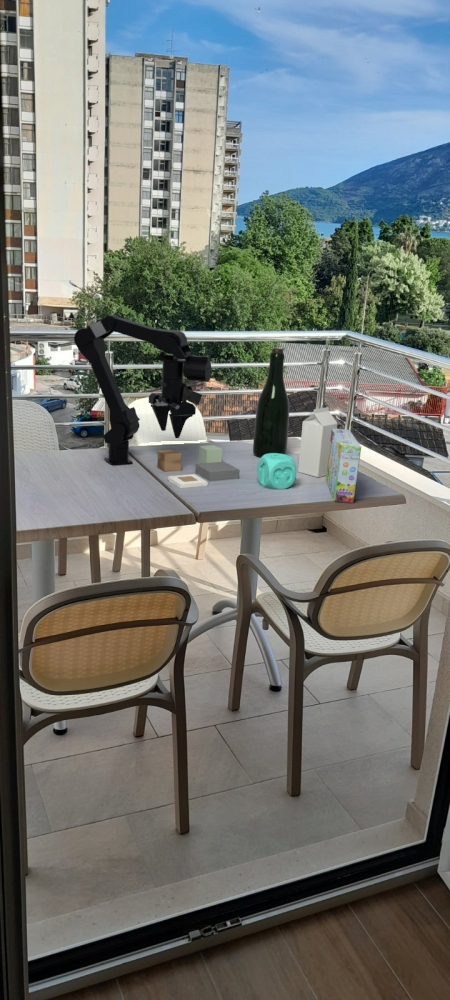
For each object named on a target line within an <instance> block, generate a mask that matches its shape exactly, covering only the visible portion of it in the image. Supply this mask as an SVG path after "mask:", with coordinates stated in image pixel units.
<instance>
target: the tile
mask: <svg viewBox="0 0 450 1000" xmlns="http://www.w3.org/2000/svg"><path fill="white" fill-rule="evenodd" d="M167 481H168V482H170V483H172V484H173V485H174V486H176V487H178V488H179V489H187V488H196V487H197V488H198V487H206V486H209V483H208V480H206V479H205V478H203V477H201V476H200V475H198V474H196V473H192V474H180V475H169V476H167Z"/></svg>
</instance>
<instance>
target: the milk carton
mask: <svg viewBox="0 0 450 1000" xmlns="http://www.w3.org/2000/svg"><path fill="white" fill-rule="evenodd" d="M329 410H330V407H329V406H327V407H322V408H320V407H319V408H314V409H313V412H311V413H310V414H309V416H308V417H306V418H305V419H304V420H303V421H302V428H301V437H300V438H301V439H300V446H299V447H300V449H299V450H300V451H299V461H298V468H297V469H298V471H297V473H300V474H304V475H307V476H311V477H315V478H321V477H326V473H327V465H328V457H329V448H330V440H331V430H332V429H338V421H336V419H335V418H334V417H333V414H331V412H330V411H329Z"/></svg>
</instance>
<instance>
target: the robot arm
mask: <svg viewBox="0 0 450 1000" xmlns="http://www.w3.org/2000/svg"><path fill="white" fill-rule="evenodd" d="M114 332H115V333H118V334H122V335H123V336H128V337H131V338H134V339H136V340H140V341H143V342H147V343H149V344H152V345H153V346H154V347H155V348H156V349H158V350H160V353H159V355H157V356H156V357H155V358H154V359H155V361H159V362H162V371H161V372H162V373H161V380H159V383H158V385H160V386H161V392H151V393H150V394H149V395H148V404H150V407H151V409H152V410H153V413H154V415H155V418H156V420H157V423H158V426H159V428H160V430H161V431H163V432H164V431H165V432H166V430H167V425H168V419H169V420H170V423H171V426H172V431H173V435H174V438H175V439H179V438H180V437H181V434H182V432H183V428H184V426H185V424H186V421H187V420H188V419H189V418H193V416H194V415H196V410H197V409H196V406H195V405H197V406H199V405H200V402H201V399H202V397H203V394H202V393H199V392H196V391H194V390H193V387H192V386H191V385H188V384H186V382H184V378H186V380H187V381H195V382H203V383H209V382H210V381H211V379H212V372H213V368H212V362H211V358H210V357H211V356H209V355H195V353H194V352H193V350H192V349H191V347H190V345H189V343H188V338H187V335H186V334H185V333H184V332H183V331H181V330H176V329H165V328H164V329H163V328H155V327H152V326H149V325H145V324H142V323H139V322H136V321H133V320H129V319H128V318H123V317H120V316H118V315H116V314H115V315H114V314H112V315H111V314H110V315H107V316H105V317H104V318H102V319H101V320H99V321H97V322H95V323H94V324H91V325H90V326H87V327H83V328H79V329H78V330H76V332H75V334H74V336H73V342H74V344H75V346H76V347H77V349H78V351H79V352H80V354H81V355H82V356H83V358H85V359H86V361H88V362H89V364H90V366H91V369H92V372H93V374H94V377H95V379H96V381H97V384H98V387H99V388H100V390H101V393H102V395H103V397H104V400H105V403H106V405H107V408H108V411H109V414H108V415H109V417H108V418H109V419H108V421H109V425H110V429H109V430H108V431H107V432H106V433H105V434H103V435H102V436H103V439H104V443H105V444H108V457H105V458H103V459H104V461H105V460H106V461H105V462H106V463H108V464H109V465H112V466H116V465H117V464H119V465H130V464H133V463H134V462H133V461H132V460H131V459H129V455H130V454H129V453H130V451H129V450H130V446H129V445H130V440H132V439H133V438H134V435H135V434H136V433H138V431H139V428H140V422H139V421H140V420H141V419H140V418H139V416H138V415H137V411H136V408H135V407H134V406H132V407H129V406H128V405H127V403H125V401H124V398H123V396H122V393H121V391H120V389H119V385H118V384H117V382H116V379H115V376H114V374H113V372H112V369H111V367H110V364H109V362H108V360H107V356H106V343H105V339H106V338H109V336H111V335H112V334H113V333H114ZM117 466H118V465H117Z"/></svg>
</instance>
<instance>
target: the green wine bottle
mask: <svg viewBox="0 0 450 1000" xmlns="http://www.w3.org/2000/svg"><path fill="white" fill-rule="evenodd" d="M285 358H286V357H285V353H284V349H283V348H280V347H279V348H278V347H275V348H274V347H273V348H272V349H271V352H270V354H269V367H268V373H267V378H266V381H265V383H264V386H263V389H262V390H261V393H260V395H259V397H258V401H257V405H256V413H255V421H254V432H253V445H252V453H253V455H254V456H256V457H259V458H261V457H262V456H263V455H265V454H269V453H279V454H285V455H287V451H288V450H287V449H288V435H289V425H290V424H289V421H290V400H289V397H288V393H287V390H286V385H285V380H284V365H285V364H284V362H285Z"/></svg>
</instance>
